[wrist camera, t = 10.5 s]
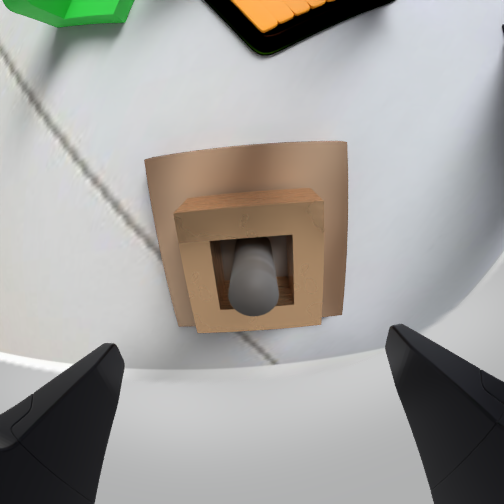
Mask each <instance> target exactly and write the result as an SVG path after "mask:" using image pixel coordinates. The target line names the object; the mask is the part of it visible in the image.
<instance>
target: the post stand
mask: <svg viewBox="0 0 504 504" xmlns="http://www.w3.org/2000/svg"><path fill="white" fill-rule="evenodd" d="M144 161H145V168H146V175H147V181H148V188H149V194H150V200H151V206H152V211H153V217H154V222H155V227H156V232H157V237H158V242H159V247H160V252H161V257H162V261H163V266H164V270H165V274H166V279H167V283H168V287H169V291H170V295H171V299H172V303H173V307H174V311H175V315H176V318H177V322H178V326H179V327H183V326H196V324H195V320H194V316H193V312H192V307H191V303H190V298H189V294H188V289H187V284H186V279H185V274H184V269H183V264H182V259H181V254H180V249H179V243H178V238H177V232H176V227H175V221H174V215H173V213H174V212H175V211H176V210H177V209H178V208H179V207H180V206H181V205H182V203H183V202H184V201H185V200H186V199H187V198H192V197H201V196H210V195H220V194H231V193H242V192H254V191H267V190H281V189H298V188H311V189H312V190H313V191H314V192H315V193H316V194H317V195H318V196H319V197H320V198H321V199H323V200H324V273H323V299H322V317H328V316H337V315H342V310H343V299H344V287H345V273H346V255H347V231H348V158H347V142H343V141H308V142H284V143H267V144H253V145H242V146H231V147H222V148H213V149H205V150H197V151H190V152H183V153H176V154H170V155H164V156H158V157H152V158H149V159H145V160H144ZM220 247H221V255H222V262H223V269H224V277H225V281H228V280H230V285H229V293H228V298H229V301H230V304H231V305H232V307H233V308H234V309H235V310H236V311H238V312H239V313H241V314H243V315H246V316H261V315H264V314H266V313H268V312H270V311H271V310H272V309H273V308H274V307H275V306H276V304H277V302H278V299H279V290H278V284H277V278H276V277H282V276H288V273H287V246H286V235H279V236H266V237H253V238H240V239H228V240H220Z"/></svg>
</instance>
